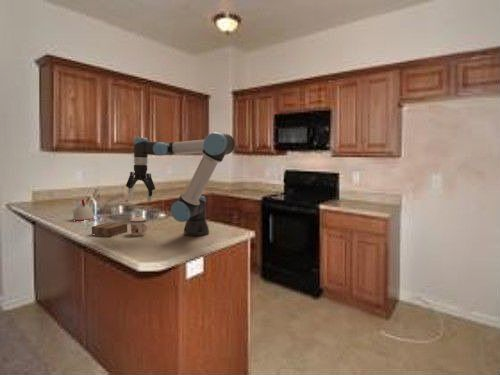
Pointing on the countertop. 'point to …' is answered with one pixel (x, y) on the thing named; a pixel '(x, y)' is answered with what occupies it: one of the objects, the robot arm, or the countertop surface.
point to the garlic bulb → (83, 212)
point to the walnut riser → (109, 229)
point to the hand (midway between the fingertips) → (140, 200)
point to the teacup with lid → (138, 226)
